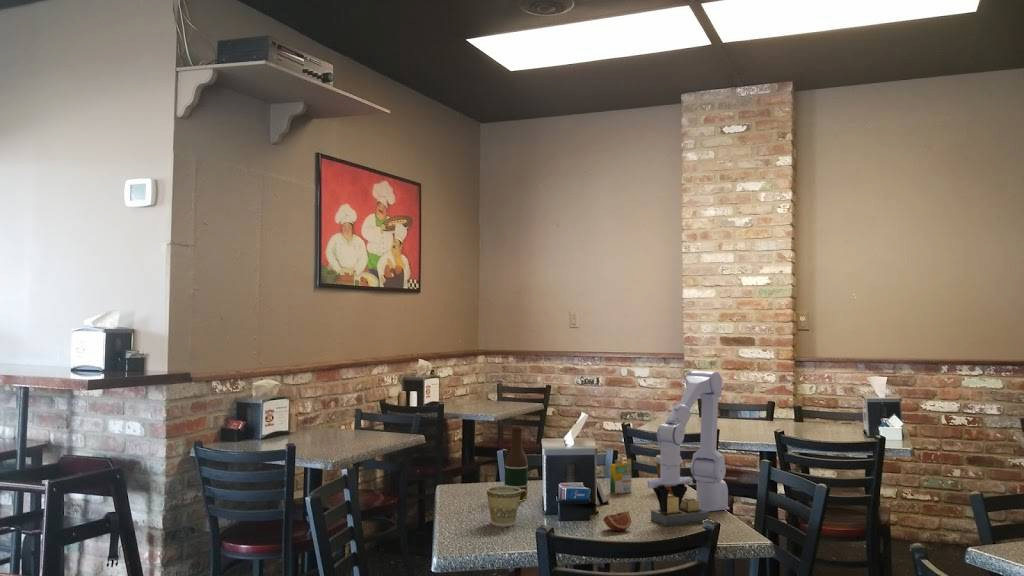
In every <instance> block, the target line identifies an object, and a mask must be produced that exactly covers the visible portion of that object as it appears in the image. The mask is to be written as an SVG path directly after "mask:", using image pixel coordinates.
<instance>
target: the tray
mask: <svg viewBox="0 0 1024 576" xmlns="http://www.w3.org/2000/svg"><path fill="white" fill-rule="evenodd" d="M709 512H710V511H705V510H702V509H699V501H698V500H696V499H695V498H694V497H691V496H690V497H683V499H682V502H681V505H680V509H679V514H673V515H666V514H664V513H661V512H660V508H658V509H650V521H652V522H655V523H657V524H659V525H661V526H664V527H666V528H667V527H678V526H685V525H687V526H688V525H695V524H702V521H703V520H706V519H709V516H710V515H709ZM709 520H710V519H709Z"/></svg>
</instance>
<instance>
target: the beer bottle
mask: <svg viewBox="0 0 1024 576" xmlns="http://www.w3.org/2000/svg"><path fill="white" fill-rule="evenodd" d="M510 429H511V440H510V447H509V448H510V449H509V451H508V453H507V455H506V457H505V460H504V461H505V462H504V486H512V487H517V488H520V489H524V490H526V492H527V493H528V470H529V469H528V468H529V467H528V457H527V455H526V453H525V451H524V449H523V439H522V438H523V437H522V430H523V426H521V425H511V428H510ZM524 497H525V491H523V492H521V494H520V500H522V499H523V498H524ZM527 498H528V495H527V496H526V498H525V499H527Z"/></svg>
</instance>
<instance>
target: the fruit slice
mask: <svg viewBox="0 0 1024 576" xmlns="http://www.w3.org/2000/svg"><path fill="white" fill-rule="evenodd" d="M603 522H604V524H605V525H606V526H607V527H608V528H609V529H610V530H613V531H615V532H624V531H626V530H627V529H629V528H630V526H631V525H632V524H631V523H632V517H631V515H630V512H629V510H628V511H623V512H619V513H617V512H616V513H615V514H608V515H606V516H604V518H603Z"/></svg>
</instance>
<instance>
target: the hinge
mask: <svg viewBox="0 0 1024 576" xmlns="http://www.w3.org/2000/svg"><path fill="white" fill-rule="evenodd" d="M605 502H606V504H607V503H608V504H607V505H611V502H610V499H609V498H608V497H606V496H605V495H604V492H603V489H602V486H601V483H600V481H599V480H598V479H597V505H596V506H600V505H601V503H603V504H604V503H605Z"/></svg>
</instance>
